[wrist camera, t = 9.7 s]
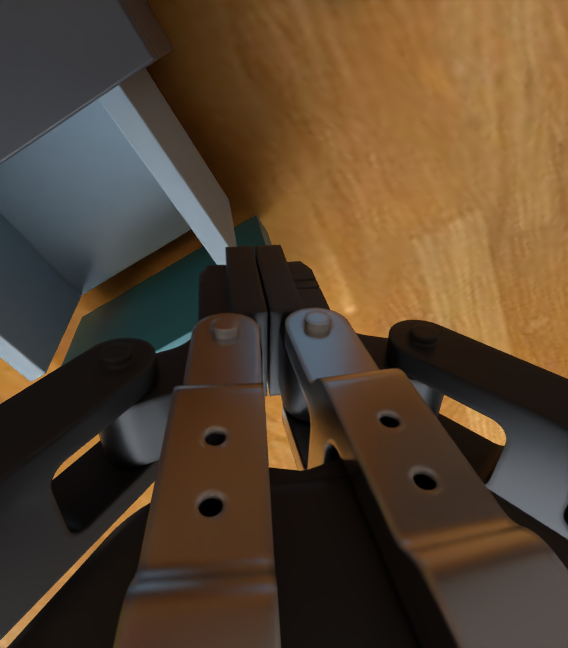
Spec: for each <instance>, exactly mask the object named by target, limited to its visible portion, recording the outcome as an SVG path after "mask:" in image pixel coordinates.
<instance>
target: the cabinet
mask: <svg viewBox="0 0 568 648" xmlns="http://www.w3.org/2000/svg"><path fill="white" fill-rule="evenodd" d="M173 50H174V48H173V46H172V44H171V43H170V41H169V39H168V37H167V36H166V34H165V32H164V31H163V29H162V27H161V25H160V24H159V22H158V20H157V19H156V17H155V15H154V13H153V12H152V10H151V8H150V7H149V5H148V3H147V1H146V0H0V165H1V164H3V163H4V162H5V161H7V160H8V159H10V158H11V157H13V156H14V155H16V154H17V153H19V152H20V151H22V150H23V149H25V148H26V147H28V146H29V145H31V144H32V143H34V142H35V141H37V140H38V139H39V138H41V137H42V136H44V135H45V134H47V133H48V132H50V131H51V130H53V129H54V128H56V127H57V126H59V125H60V124H62V123H63V122H65V121H66V120H68V119H69V118H71V117H72V116H73V115H75V114H76V113H78V112H79V111H81V110H82V109H84V108H85V107H87V106H88V105H90V104H91V103H93V102H94V101H96V100H97V99H99V98H100V97H102V96H103V95H104V94H106V93H107V92H109V91H110V90H112V89H113V88H115V87H116V86H118V85H119V84H121V83H122V82H124V81H125V80H127V79H128V78H130V77H131V76H133V75H134V74H136V73H137V72H139V71H141V70H142V69H144V68H147V67H149V66H150V65H152V64H153V63H155V62H156V61H158V60H159V59H161V58H162V57H164V56H165V55H167V54H168V53H170V52H171V51H173Z"/></svg>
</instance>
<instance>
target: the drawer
mask: <svg viewBox="0 0 568 648" xmlns="http://www.w3.org/2000/svg"><path fill="white" fill-rule="evenodd" d="M191 229H192V231H193V232H194V233H195V235H196V236H197V238H198V239H199V240H200V242H201V243H202V245H203V246H202V247H200V248H199V249H197V250H195V251H193V252H192V253H190V254H188V255H187V256H185V257H183V258H182V259H180V260H178V261H177V262H175V263H173V264H171V265H170V266H168V267H166V268H165V269H163V270H161V271H160V272H158V273H156V274H155V275H153V276H151V277H149V278H148V279H146V280H144V281H143V282H141V283H139V284H138V285H136V286H134V287H133V288H131V289H129V290H127V291H126V292H124V293H122V294H121V295H119V296H117V297H116V298H114V299H112V300H111V301H109V302H107V303H105V304H104V305H102V306H100V307H99V308H97V309H95V310H94V311H92V312H90V313H89V314H87V315H85V316H83V317H82V319H81V321H80V323H79V326H78V328H77V331H76V333H75V335H74V338H73V340H72V342H71V345H70V347H69V349H68V352H67V354H66V357H65V359H64V361H63V364H62V366H63V365H64V364H66V363H67V362H69V361H71V360H72V359H74V358H76V357H77V356H79V355H80V354H82V353H84V352H85V351H87V350H88V349H90V348H92V347H93V346H95V345H97V344H99V343H102V342H104V341H108V340H111V339H116V338H138V339H142V340H145V341H147V342H149V343H150V344H151V345H152V346H153V347H154V349H155V351H156V353H158V352H162V351H166V350H169V349H172V348H176V347H178V346H180V345H182V344H184V343H186V342H187V341H189V340H190V339H191V334H192V329H193V327H194V326H195V324H196V323H197V322H198V297H199V274H200V273H201V272H202V270H203V269H204V268H205V267H206V266H207V265H226V252H225V247H237V246H252V248H254V246H262V245H271V242H270V239H269V236H268V233H267V231H266V229H265V227H264V226H263V224H262V222H261V221H260V219H259V217H258V216H257V215H254V216H253V217H251V218H249V219H248V220H246V221H244V222H243V223H241V224H239V225H237V226H236V227H234V226H233V220H232V214H231V208H230V203H229V200H228V198H227V196H226V195H225V193H224V192H223V190H222V188H221V187H220V185H219V184H218V182H217V181H216V179H215V177H214V176H213V174H212V173H211V171H210V170H209V168H208V166H207V165H206V163H205V162H204V160H203V158H202V157H201V155H200V154H199V152H198V151H197V149H196V147H195V146H194V144H193V143H192V141H191V140H190V138H189V136H188V135H187V133H186V132H185V130H184V128H183V127H182V125H181V124H180V122H179V121H178V119H177V117H176V116H175V114H174V113H173V111H172V110H171V108H170V106H169V105H168V103H167V102H166V100H165V98H164V97H163V95H162V94H161V92H160V91H159V89H158V87H157V86H156V84H155V83H154V81H153V80H152V78H151V76H150V75H149V73H148V72H147V70H146V68H144V69H142V70H141V71H139V72H137V73H136V74H134V75H133V76H131V77H130V78H128V79H127V80H125V81H124V82H122V83H121V84H119V85H118V86H116V87H115V88H113V89H112V90H110V91H109V92H107V93H106V94H104V95H103V96H102V97H100V98H99V99H97V100H96V101H94V102H93V103H91V104H90V105H88V106H87V107H85V108H84V109H82V110H81V111H79V112H78V113H76V114H75V115H73V116H72V117H71V118H69V119H68V120H66V121H65V122H63V123H62V124H60V125H59V126H57V127H56V128H54V129H53V130H51V131H50V132H48V133H47V134H45V135H44V136H42V137H41V138H39V139H38V140H37V141H35V142H34V143H32V144H31V145H29V146H28V147H26V148H25V149H23V150H22V151H20V152H19V153H17V154H16V155H14V156H13V157H11V158H10V159H8V160H7V161H5V162H4V163H3V164H1V165H0V358H2V359H3V360H4V361H5V362H7V363H8V364H9V365H10V366H12V367H13V368H14V369H15V370H17V371H18V372H19V373H20V374H22V375H23V376H24V377H25V378H27V379H28V380H29V381H33V380H35V379H37V378H39V377H40V376H42V375H44V374H46V372H47V370H48V367H49V365H50V363H51V361H52V359H53V356H54V354H55V352H56V350H57V348H58V346H59V343H60V341H61V339H62V337H63V335H64V333H65V330H66V328H67V326H68V324H69V322H70V319H71V317H72V315H73V313H74V311H75V309H76V306H77V304H78V302H79V300H80V298H81V295H83V294H85V293H86V292H88V291H90V290H91V289H93V288H95V287H96V286H98V285H100V284H101V283H103V282H105V281H106V280H108V279H110V278H111V277H113V276H115V275H116V274H118V273H120V272H121V271H123V270H125V269H126V268H128V267H130V266H131V265H133V264H135V263H136V262H138V261H140V260H141V259H143V258H145V257H146V256H148V255H150V254H151V253H153V252H155V251H156V250H158V249H160V248H161V247H163V246H165V245H166V244H168V243H170V242H171V241H173V240H175V239H176V238H178V237H180V236H181V235H183V234H185V233H186V232H188V231H190V230H191ZM267 389H268V383H267Z"/></svg>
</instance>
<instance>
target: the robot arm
mask: <svg viewBox="0 0 568 648" xmlns="http://www.w3.org/2000/svg"><path fill="white" fill-rule="evenodd" d="M225 252H226V265H207V266H206V267H205V268H204V269H203V270H202V272H201V273H200V274H199V297H198V322H197V323H196V324H195V326H194V327H193V329H192V334H191V339H190V340H189V341H187V342H186V343H184V344H182V345H180V346H178V347H176V348H172V349H169V350H166V351H162V352H158V353H156V351H155V349H154V347H153V346H152V345H151V344H150V343H149V342H147V341H145V340H142V339H138V338H116V339H111V340H108V341H104V342H102V343H99V344H97V345H95V346H93V347H92V348H90V349H88V350H87V351H85V352H84V353H82V354H80V355H79V356H77V357H76V358H74V359H72V360H71V361H69V362H67V363H66V364H64V365H63V366H61V367H59V368H58V369H56V370H55V371H53V372H51V373H50V374H48V375H47V376H45V377H43V378H42V379H40V380H39V381H37V382H35V383H34V384H32V385H30V386H29V387H27V388H26V389H24V390H22V391H21V392H19V393H18V394H16V395H14V396H13V397H11V398H10V399H8V400H6V401H5V402H3V403H2V404H0V640H1V639H2V638H3V637H4V636H5V635H6V634H7V633H8V632H9V631H10V630H11V629H12V628H13V626H14V625H15V624H16V623H17V622H18V621H19V620H20V619H21V618H22V617H23V616H24V615H25V614H26V613H27V612H28V611H29V610H30V609H31V608H32V607H33V606H34V605H35V604H36V603H37V602H38V601H39V600H40V599H41V598H42V597H43V596H44V595H45V594H46V592H47V591H48V590H49V589H50V588H51V587H52V586H53V585H54V584H55V583H56V582H57V581H58V580H59V579H60V578H61V577H62V576H63V575H64V574H65V573H66V572H67V571H68V570H69V569H70V568H71V567H72V566H73V565H74V564H75V563H76V562H77V561H78V560H79V558H80V557H81V556H82V555H83V554H84V553H85V552H86V551H87V550H88V549H89V548H90V547H91V546H92V545H93V544H94V543H95V542H96V541H97V540H98V539H99V538H100V537H101V536H102V535H103V534H104V533H105V532H106V531H107V530H108V529H109V528H110V527H111V526H112V524H113V523H114V522H115V521H116V520H117V519H118V518H119V517H120V516H121V515H122V514H123V513H124V512H125V511H126V510H127V509H128V508H129V507H130V506H131V505H132V504H133V503H134V502H135V501H136V500H137V499H138V498H139V497H140V496H141V495H142V494H143V493H144V492H145V490H146V489H147V488H148V487H149V486H150V485H151V484H152V483H153V482H154V481H155V484H154V489H153V494H152V499H151V503H149V504H148V505H146V506H144V507H142V508H141V509H139V510H138V511H137V512H135V513H134V514H132V515H131V516H130V517H128V518H127V519H126V520H125V521H124V522H122V523H121V524H120V525H119V526H118V527H117V528H116V529H115V530H114V531H113V532H112V533H111V534H110V535H109V536H108V537H107V538H106V539H105V540H104V541H103V542H102V543H101V544H100V546H99V547H98V548H97V549H96V550H95V551H94V552H93V553H92V554H91V556H90V557H89V558H88V559H87V560H86V561H85V562H84V563H83V564H82V565H81V567H80V568H79V569H78V570H77V571H76V572H75V573H74V574H73V575H72V577H71V578H70V579H69V580H68V581H67V582H66V583H65V584H64V585H63V586H62V588H61V589H60V590H59V591H58V592H57V593H56V594H55V595H54V596H53V598H52V599H51V600H50V601H49V602H48V603H47V604H46V605H45V606H44V607H43V609H42V610H41V611H40V612H39V613H38V614H37V615H36V616H35V617H34V619H33V620H32V621H31V622H30V623H29V624H28V625H27V626H26V627H25V628H24V630H23V631H22V632H21V633H20V634H19V635H18V636H17V637H16V638H15V640H14V641H13V642H12V643H11V644H10V645H9V646H8V647H7V648H568V379H566V378H564V377H562V376H559V375H557V374H555V373H552V372H550V371H547V370H545V369H543V368H540V367H538V366H535V365H533V364H531V363H528V362H526V361H524V360H521V359H519V358H516V357H514V356H512V355H509V354H507V353H504V352H502V351H500V350H497V349H495V348H493V347H490V346H488V345H485V344H483V343H481V342H478V341H476V340H473V339H471V338H469V337H466V336H464V335H462V334H459V333H457V332H454V331H452V330H450V329H447V328H445V327H442V326H440V325H438V324H435V323H432V322H428V321H422V320H406V321H401V322H398V323H396V324H395V325H393V326H392V327H391V329H390V331H389V336H388V338H382V337H375V336H367V335H362V334H358V333H355V331H354V330H353V328H352V326H351V325H350V323H349V322H348V320H347V319H346V318H345V317H344V316H342V315H341V314H339V313H337V312H335V311H332V310H330V308H329V306H328V304H327V302H326V300H325V298H324V296H323V293H322V291H321V289H319V285H318V283H317V281H316V278H315V276H314V274H313V272H312V270H311V269H310V268H309V267H307V266H306V265H305V264H303V263H302V262H300V261H295V262H287V261H286V258H285V256H284V253H283V250H282V248H281V245H262V246H254V248H252V246H237V247H225ZM267 383H268V388H269V394H270V396H273V395H281V397H282V401H283V407H282V421H283V425H284V428H285V431H286V434H287V437H288V441H289V444H290V447H291V450H292V453H293V457H294V460H295V463H296V466H297V469H298V470H288V469H279V468H269V463H268V446H267V430H266V413H265V396H267ZM444 395H446V396H448V397H450V398H452V399H454V400H456V401H458V402H460V403H462V404H464V405H466V406H468V407H470V408H472V409H473V410H475V411H477V412H479V413H481V414H483V415H485V416H487V417H489V418H491V419H493V420H494V421H496V422H497V423H498V424H499V425H500V426H501V427H502V428H503V430H504V432H505V434H506V444H505V446H501V445H497V444H495V443H493V442H491V441H489V440H488V439H486V438H484V437H482V436H480V435H478V434H476V433H475V432H473V431H471V430H469V429H467V428H465V427H464V426H462V425H460V424H458V423H456V422H454V421H452V420H451V419H449V418H447V417H445V416H443V415H441V414H440V413H439V410H440V407H441V403H442V400H443V396H444ZM97 434H99V436H100V441H99V442H98V443H97V444H96V445H94V446H93V447H92V448H91V449H90V450H88V451H87V452H86V453H85V454H84V455H82V456H81V457H80V458H79V459H78V460H76V461H75V462H74V463H73V464H71V465H70V466H69V467H68V468H67V469H65V470H64V471H63V472H62V473H61V474H59V475H58V476H57V477H56V478H55V479H53V476H54V474H55V472H56V471H57V469H58V468H59V467H60V465H61V464H62V463H63V462H64V461H65V460H66V459H68V458H69V457H70V456H71V455H73V454H74V453H75V452H76V451H78V450H79V449H80V448H81V447H82V446H84V445H85V444H86V443H87V442H89V441H90V440H91V439H92V438H94V437H95V436H96V435H97ZM52 479H53V480H52Z"/></svg>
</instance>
